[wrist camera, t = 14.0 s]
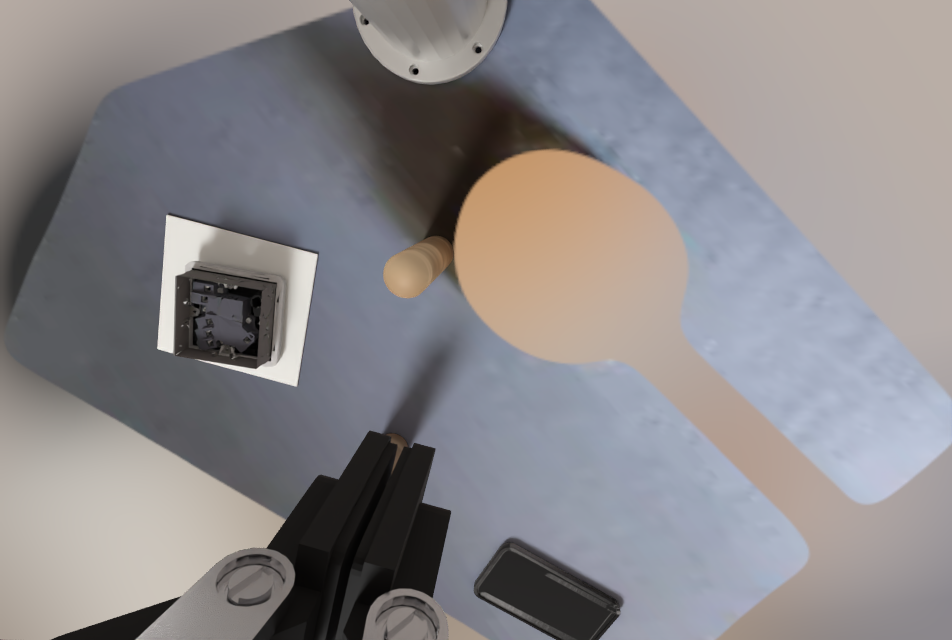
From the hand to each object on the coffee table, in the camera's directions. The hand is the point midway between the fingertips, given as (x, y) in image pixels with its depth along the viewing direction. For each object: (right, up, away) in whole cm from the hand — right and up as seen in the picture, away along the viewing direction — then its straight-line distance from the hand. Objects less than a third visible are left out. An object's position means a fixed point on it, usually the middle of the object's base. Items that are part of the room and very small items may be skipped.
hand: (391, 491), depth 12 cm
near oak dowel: (-2, +10, +34) cm, 35 cm away
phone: (+10, -26, +43) cm, 52 cm away
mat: (-22, +6, +37) cm, 43 cm away
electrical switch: (-17, +4, +34) cm, 38 cm away
